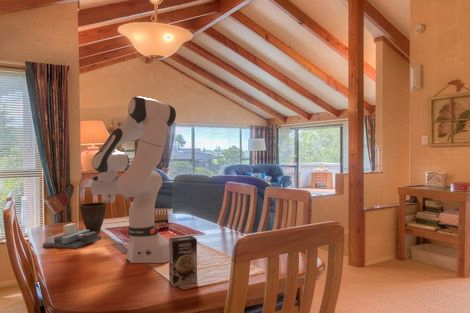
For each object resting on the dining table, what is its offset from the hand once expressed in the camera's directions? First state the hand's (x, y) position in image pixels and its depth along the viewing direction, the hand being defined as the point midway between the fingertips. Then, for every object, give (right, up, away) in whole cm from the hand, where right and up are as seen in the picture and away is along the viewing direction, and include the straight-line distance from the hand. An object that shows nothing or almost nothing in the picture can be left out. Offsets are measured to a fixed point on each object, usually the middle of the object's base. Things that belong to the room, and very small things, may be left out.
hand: (110, 202), depth 192 cm
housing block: (-21, -19, -1) cm, 28 cm away
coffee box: (+48, -21, -60) cm, 80 cm away
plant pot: (-19, -20, +25) cm, 37 cm away
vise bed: (-19, -21, -2) cm, 28 cm away
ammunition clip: (+21, -20, +29) cm, 40 cm away
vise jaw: (-13, -19, -3) cm, 23 cm away
